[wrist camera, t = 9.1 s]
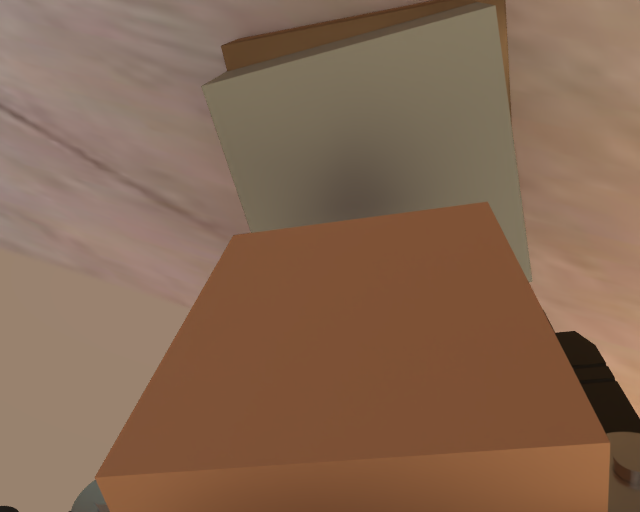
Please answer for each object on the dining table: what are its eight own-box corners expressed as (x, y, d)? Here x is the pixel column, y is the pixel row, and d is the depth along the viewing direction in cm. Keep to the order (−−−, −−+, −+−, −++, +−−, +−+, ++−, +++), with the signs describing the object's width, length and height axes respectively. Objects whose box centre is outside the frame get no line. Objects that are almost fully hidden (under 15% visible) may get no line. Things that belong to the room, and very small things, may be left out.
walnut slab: (240, 38, 29) (220, 45, 25) (487, -11, 27) (504, -10, 23) (289, 254, 34) (279, 286, 30) (502, 226, 32) (518, 257, 28)
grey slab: (226, 71, 26) (201, 86, 22) (477, 1, 24) (495, 5, 20) (294, 285, 30) (283, 327, 26) (512, 242, 28) (532, 281, 24)
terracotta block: (233, 235, 13) (94, 476, 7) (487, 201, 12) (609, 442, 6) (283, 427, 15) (215, 748, 9) (500, 411, 14) (599, 752, 8)
